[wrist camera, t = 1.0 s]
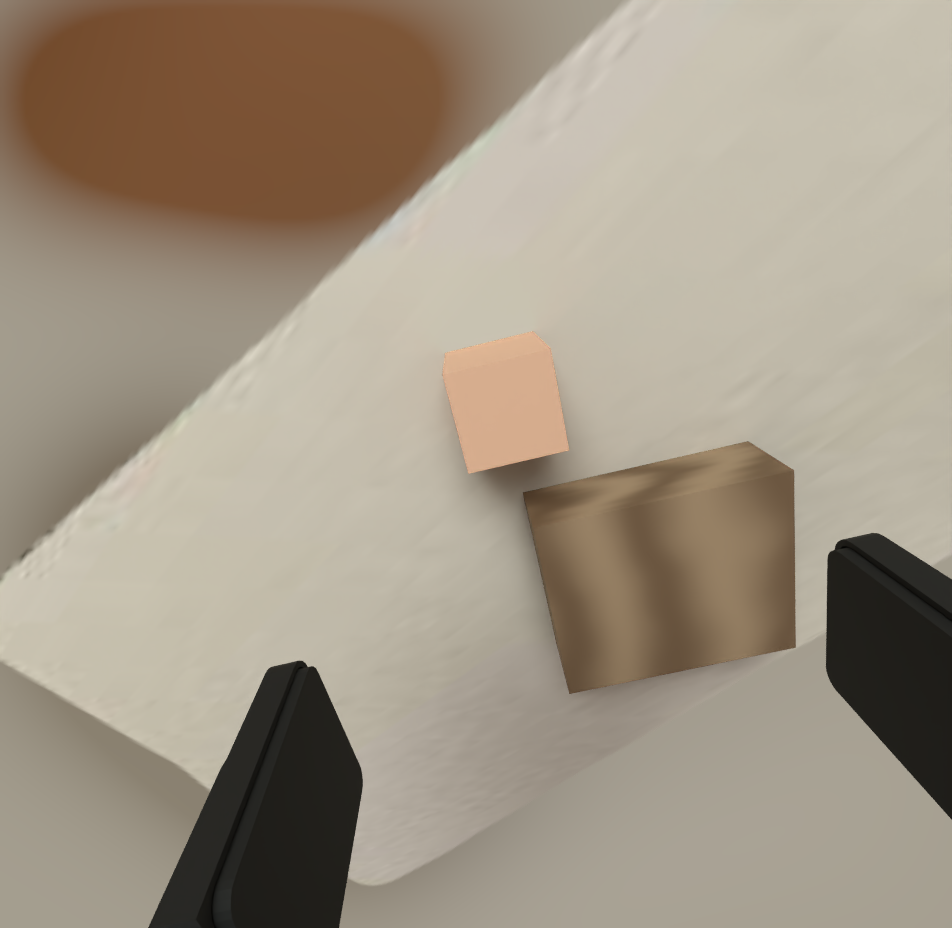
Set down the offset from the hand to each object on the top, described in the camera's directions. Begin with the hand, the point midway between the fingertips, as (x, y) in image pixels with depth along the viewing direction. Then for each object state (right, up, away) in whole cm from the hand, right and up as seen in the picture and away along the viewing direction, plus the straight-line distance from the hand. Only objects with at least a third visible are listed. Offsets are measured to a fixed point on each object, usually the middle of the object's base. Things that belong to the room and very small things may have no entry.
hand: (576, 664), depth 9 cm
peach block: (-1, +8, +21) cm, 22 cm away
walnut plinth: (+9, -2, +25) cm, 27 cm away
